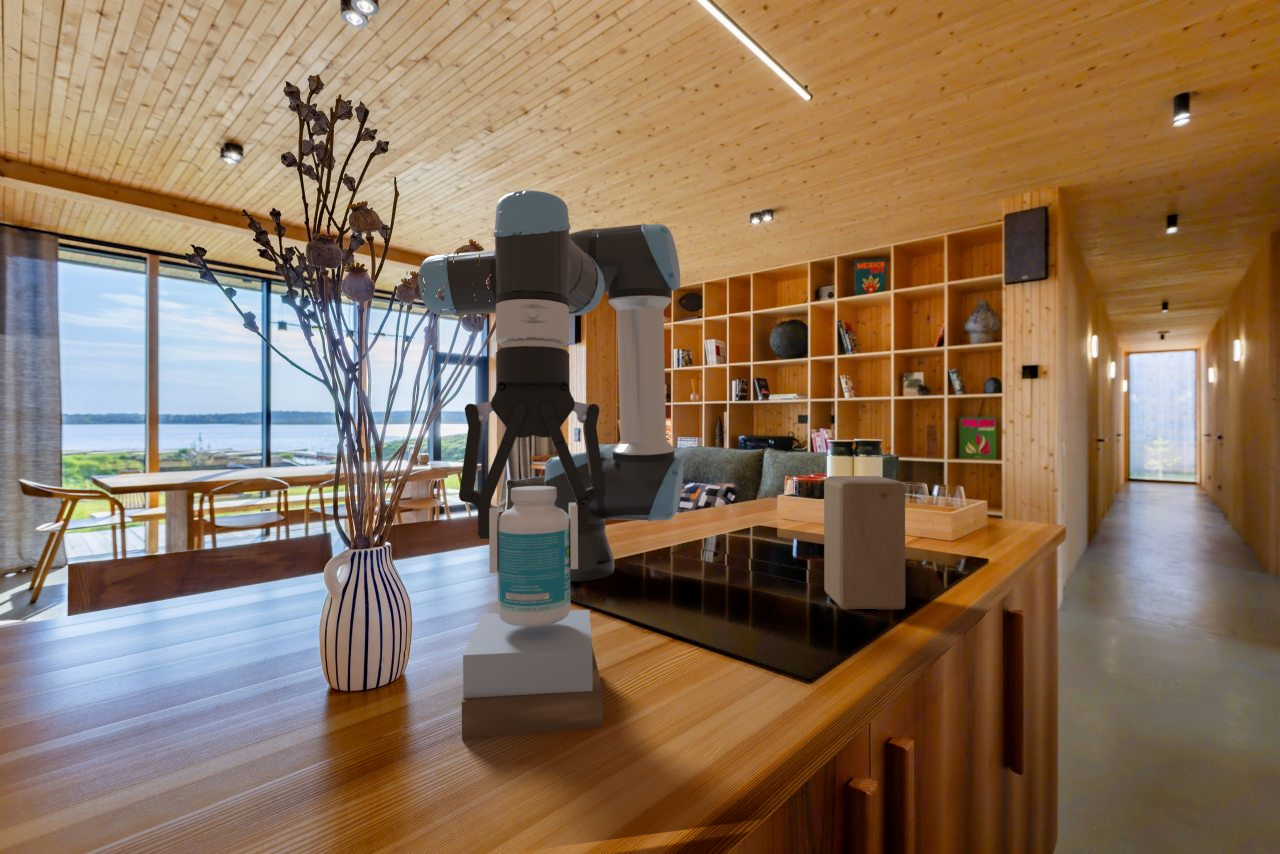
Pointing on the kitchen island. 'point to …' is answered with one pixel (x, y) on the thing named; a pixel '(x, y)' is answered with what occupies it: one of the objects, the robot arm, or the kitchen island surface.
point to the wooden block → (864, 542)
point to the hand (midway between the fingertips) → (534, 567)
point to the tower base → (533, 712)
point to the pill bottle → (533, 559)
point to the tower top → (529, 657)
